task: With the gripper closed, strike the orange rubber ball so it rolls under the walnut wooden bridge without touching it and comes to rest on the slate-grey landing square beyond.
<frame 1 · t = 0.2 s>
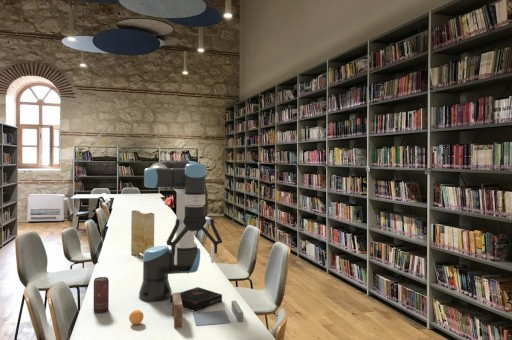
hand: (194, 263, 153), 28 cm above the table, tool pointing down, fingers open, 13 cm apart
ball: (136, 317, 165), on the table
parchment: (142, 257, 274), on the table
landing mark: (211, 317, 173), on the table
stopper: (236, 315, 175), on the table
can: (101, 311, 179), on the table
portable cd player: (196, 303, 191), on the table
bridge: (177, 320, 169), on the table
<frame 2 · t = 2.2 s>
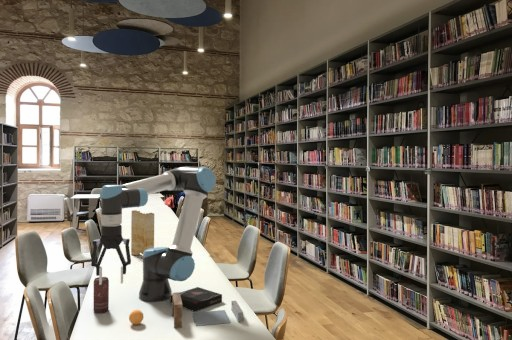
hand: (111, 282, 162), 17 cm above the table, tool pointing down, fingers open, 7 cm apart
nothing on the table moved.
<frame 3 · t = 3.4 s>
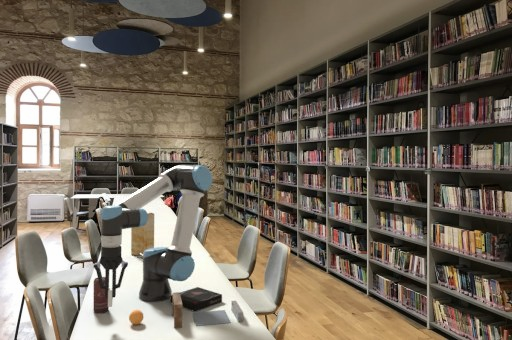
hand: (110, 305, 162), 8 cm above the table, tool pointing down, fingers closed
nothing on the table moved.
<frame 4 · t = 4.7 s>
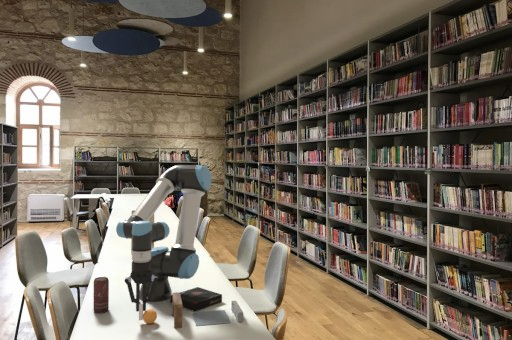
hand: (140, 318, 165), 2 cm above the table, tool pointing down, fingers closed
ball: (149, 316, 166), on the table
everything else where it was.
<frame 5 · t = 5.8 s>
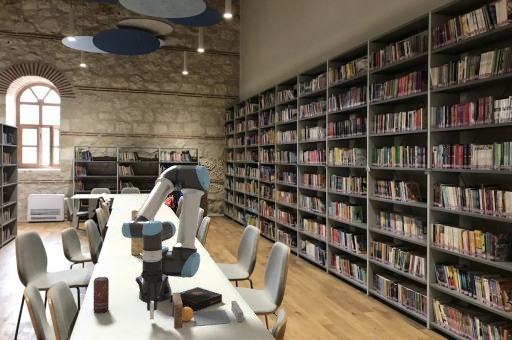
hand: (151, 318, 166), 2 cm above the table, tool pointing down, fingers closed
ball: (186, 313, 169), on the table
everything else where it was.
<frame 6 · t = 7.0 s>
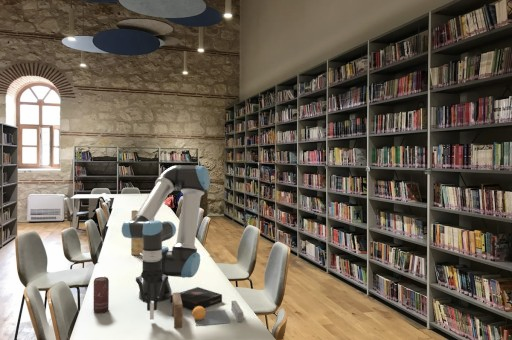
hand: (151, 318, 166), 2 cm above the table, tool pointing down, fingers closed
ball: (199, 313, 170), on the table
everything else where it was.
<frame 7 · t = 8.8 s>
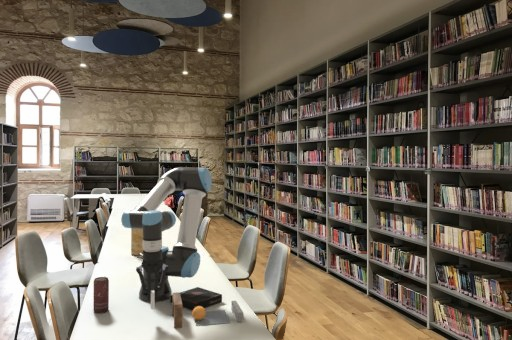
hand: (152, 307, 167), 6 cm above the table, tool pointing down, fingers closed
nothing on the table moved.
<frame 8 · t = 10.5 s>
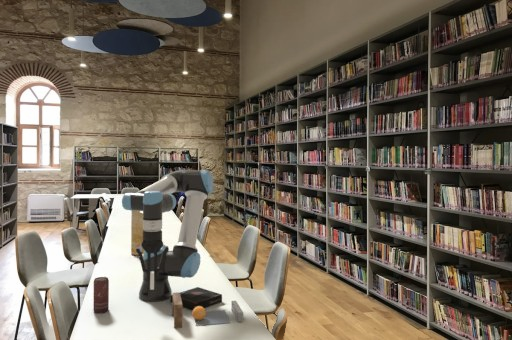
hand: (152, 288, 166), 14 cm above the table, tool pointing down, fingers closed
nothing on the table moved.
at the end: ball 5.3 cm from the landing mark (horizontally); ball never touched bridge; ball at rest at the end (0.0 cm/s) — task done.
